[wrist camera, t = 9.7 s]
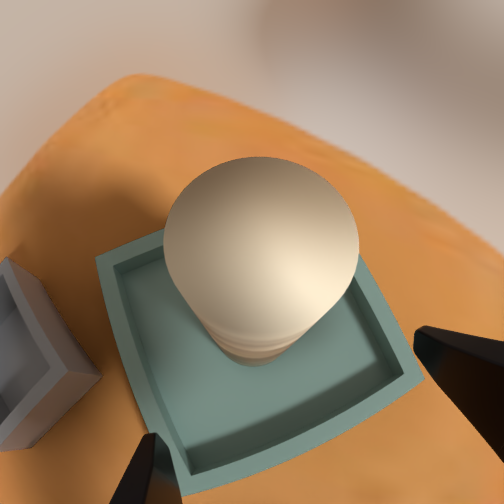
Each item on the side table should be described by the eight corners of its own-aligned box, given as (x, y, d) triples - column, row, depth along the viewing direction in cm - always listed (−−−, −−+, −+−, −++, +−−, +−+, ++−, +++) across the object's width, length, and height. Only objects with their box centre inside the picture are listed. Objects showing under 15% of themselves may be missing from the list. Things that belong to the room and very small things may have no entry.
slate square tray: (103, 376, 15) (68, 370, 12) (31, 448, 13) (-7, 452, 9) (39, 279, 18) (6, 256, 14) (-21, 351, 15) (-56, 339, 11)
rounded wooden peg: (288, 368, 15) (365, 334, 5) (212, 364, 15) (148, 323, 5) (290, 296, 17) (348, 164, 7) (218, 292, 17) (181, 155, 7)
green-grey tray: (406, 381, 16) (424, 378, 14) (189, 484, 13) (181, 496, 11) (304, 195, 21) (309, 175, 19) (108, 270, 18) (94, 257, 16)
